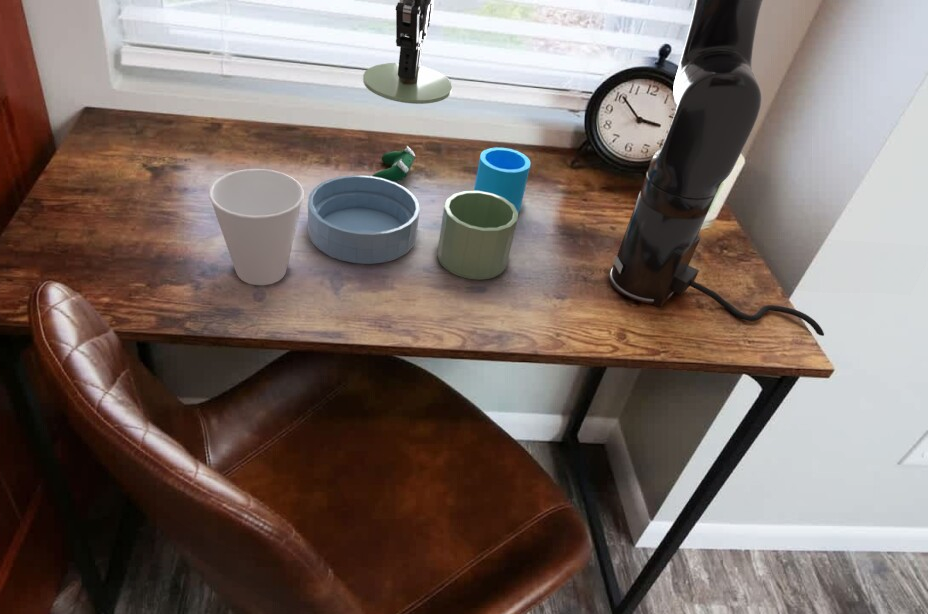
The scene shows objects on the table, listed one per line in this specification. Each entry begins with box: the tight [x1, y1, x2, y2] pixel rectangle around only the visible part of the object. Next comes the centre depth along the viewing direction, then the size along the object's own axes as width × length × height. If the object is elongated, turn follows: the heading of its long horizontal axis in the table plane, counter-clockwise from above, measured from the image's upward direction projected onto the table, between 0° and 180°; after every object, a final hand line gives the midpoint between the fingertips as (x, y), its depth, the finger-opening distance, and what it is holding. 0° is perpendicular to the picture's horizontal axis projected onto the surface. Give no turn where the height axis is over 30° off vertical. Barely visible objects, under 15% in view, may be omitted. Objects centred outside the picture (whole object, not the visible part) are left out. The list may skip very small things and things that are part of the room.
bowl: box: [307, 174, 421, 265], centre depth 104 cm, size 16×16×6 cm
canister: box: [436, 190, 519, 281], centre depth 102 cm, size 10×10×8 cm
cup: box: [208, 168, 305, 286], centre depth 93 cm, size 12×12×12 cm
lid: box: [362, 37, 453, 105], centre depth 88 cm, size 11×11×6 cm
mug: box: [473, 146, 531, 213], centre depth 116 cm, size 12×8×8 cm
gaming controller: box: [372, 145, 416, 183], centre depth 119 cm, size 9×4×6 cm
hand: (408, 72), depth 89 cm, fingers closed on lid, 2 cm apart
